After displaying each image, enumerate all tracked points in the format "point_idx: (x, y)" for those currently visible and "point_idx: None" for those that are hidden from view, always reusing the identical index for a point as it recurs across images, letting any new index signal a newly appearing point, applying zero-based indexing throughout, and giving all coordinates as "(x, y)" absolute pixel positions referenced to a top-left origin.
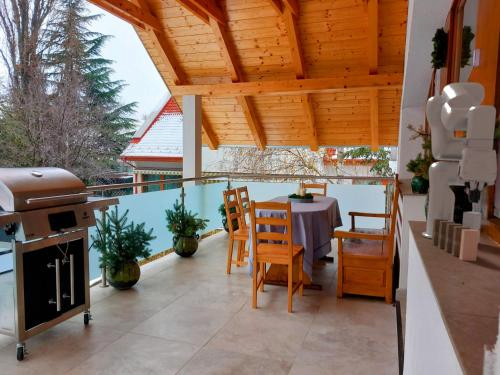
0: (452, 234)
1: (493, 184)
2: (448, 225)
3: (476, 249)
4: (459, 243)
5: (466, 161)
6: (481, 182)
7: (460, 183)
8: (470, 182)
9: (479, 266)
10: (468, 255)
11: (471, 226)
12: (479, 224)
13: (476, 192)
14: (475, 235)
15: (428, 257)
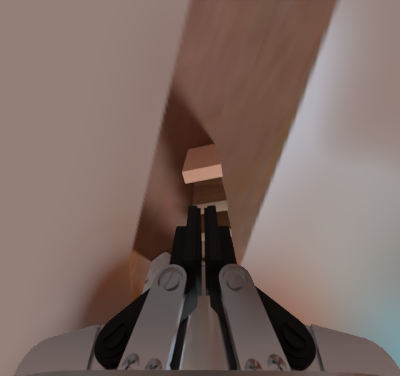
0: (218, 214)
1: (43, 341)
2: (230, 228)
3: (187, 155)
4: (212, 182)
5: None
6: (154, 356)
7: (349, 335)
8: (275, 347)
9: (194, 105)
10: (203, 148)
11: None
12: (144, 290)
13: (200, 251)
14: (190, 165)
15: (275, 143)
